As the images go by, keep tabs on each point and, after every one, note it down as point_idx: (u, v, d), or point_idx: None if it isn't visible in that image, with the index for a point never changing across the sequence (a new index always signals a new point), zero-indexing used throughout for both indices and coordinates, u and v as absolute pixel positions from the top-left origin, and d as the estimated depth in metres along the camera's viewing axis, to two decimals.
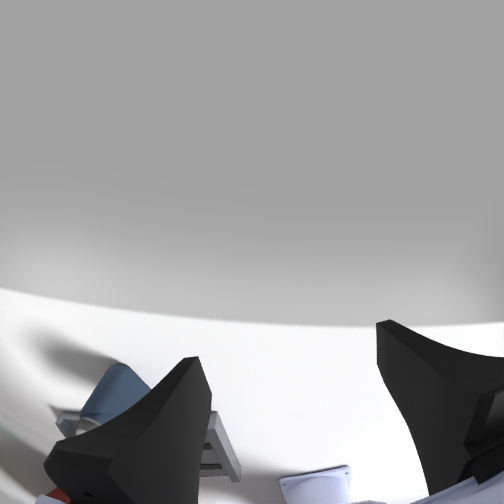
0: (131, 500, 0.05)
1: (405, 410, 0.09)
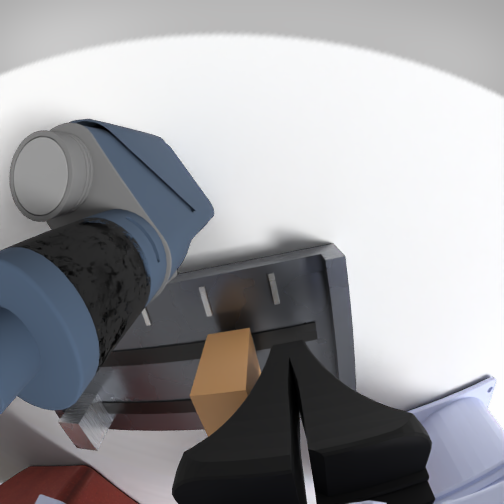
0: (298, 500, 0.04)
1: (306, 435, 0.09)
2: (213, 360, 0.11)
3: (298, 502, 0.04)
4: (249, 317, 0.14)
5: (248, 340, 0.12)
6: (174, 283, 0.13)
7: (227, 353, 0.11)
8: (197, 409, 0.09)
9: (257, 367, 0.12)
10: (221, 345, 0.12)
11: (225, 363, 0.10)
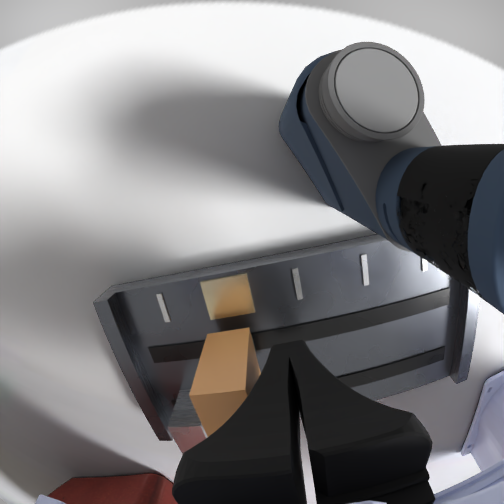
0: (298, 500, 0.04)
1: (306, 435, 0.09)
2: (213, 360, 0.11)
3: (298, 502, 0.04)
4: (399, 285, 0.13)
5: (248, 340, 0.12)
6: (336, 251, 0.13)
7: (227, 353, 0.11)
8: (196, 409, 0.09)
9: (257, 367, 0.12)
10: (221, 345, 0.12)
11: (224, 363, 0.10)
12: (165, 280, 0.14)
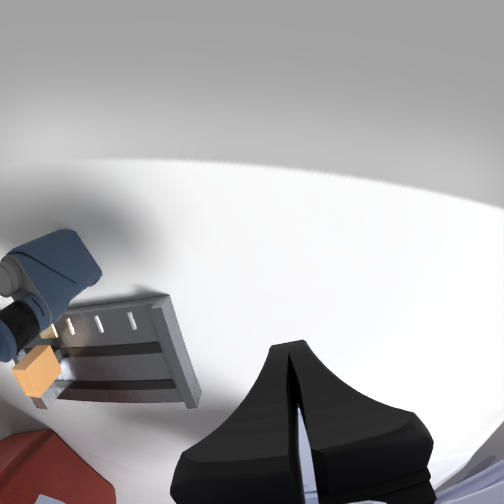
0: (296, 500, 0.04)
1: (307, 435, 0.09)
2: (27, 357, 0.19)
3: (296, 502, 0.05)
4: (121, 335, 0.22)
5: (44, 351, 0.20)
6: (82, 312, 0.21)
7: (33, 355, 0.19)
8: (15, 375, 0.17)
9: (54, 365, 0.21)
10: (35, 351, 0.20)
11: (29, 359, 0.19)
12: None
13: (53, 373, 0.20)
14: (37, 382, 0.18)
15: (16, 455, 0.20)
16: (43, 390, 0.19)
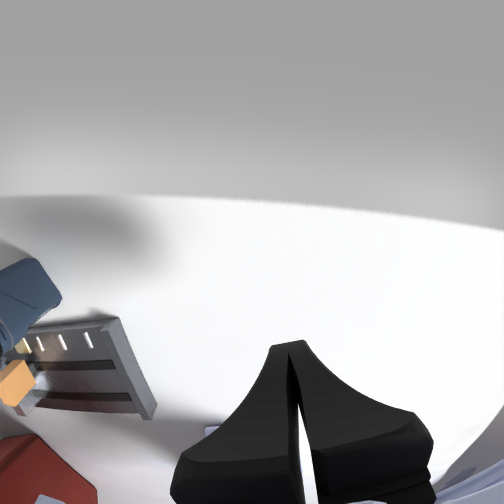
0: (295, 500, 0.04)
1: (307, 435, 0.09)
2: (4, 371, 0.20)
3: (296, 502, 0.04)
4: (81, 353, 0.22)
5: (18, 365, 0.21)
6: (48, 332, 0.22)
7: (9, 369, 0.20)
8: None
9: (28, 377, 0.22)
10: (11, 365, 0.21)
11: (5, 372, 0.20)
12: None
13: (27, 385, 0.21)
14: (12, 393, 0.19)
15: (3, 457, 0.20)
16: (18, 400, 0.19)
